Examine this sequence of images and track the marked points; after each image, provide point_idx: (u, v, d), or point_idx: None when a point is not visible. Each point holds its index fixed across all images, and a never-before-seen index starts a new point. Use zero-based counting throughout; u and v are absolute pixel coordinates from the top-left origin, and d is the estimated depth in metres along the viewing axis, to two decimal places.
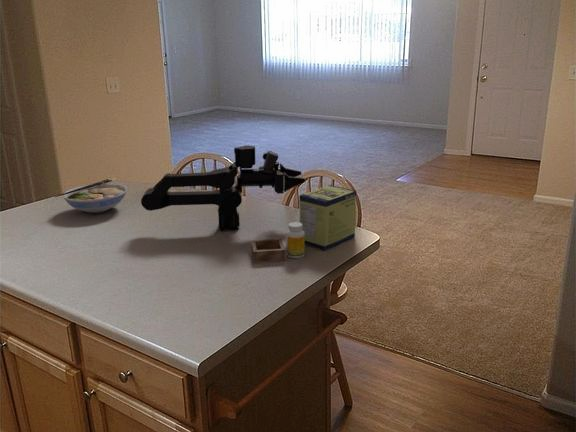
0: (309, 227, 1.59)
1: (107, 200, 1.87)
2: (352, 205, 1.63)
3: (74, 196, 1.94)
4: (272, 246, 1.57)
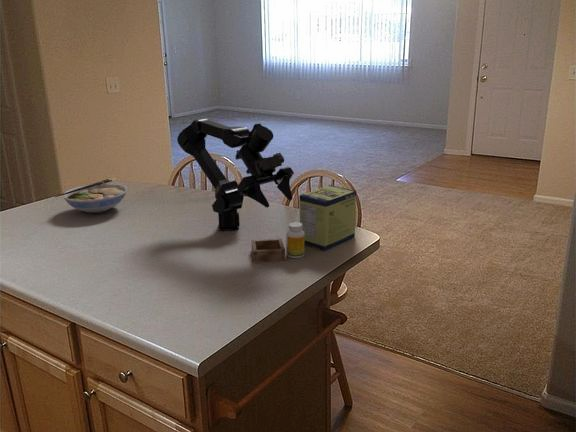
0: (309, 227, 1.59)
1: (107, 200, 1.87)
2: (352, 205, 1.63)
3: (74, 196, 1.94)
4: (272, 246, 1.57)
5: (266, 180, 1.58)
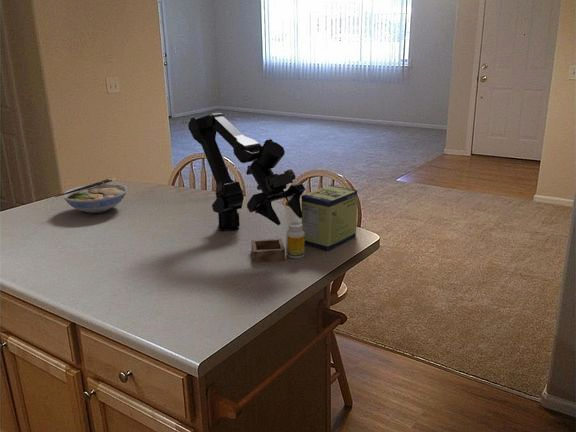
0: (311, 227, 1.58)
1: (107, 200, 1.87)
2: (354, 204, 1.63)
3: (74, 196, 1.94)
4: (272, 246, 1.57)
5: (277, 197, 1.54)
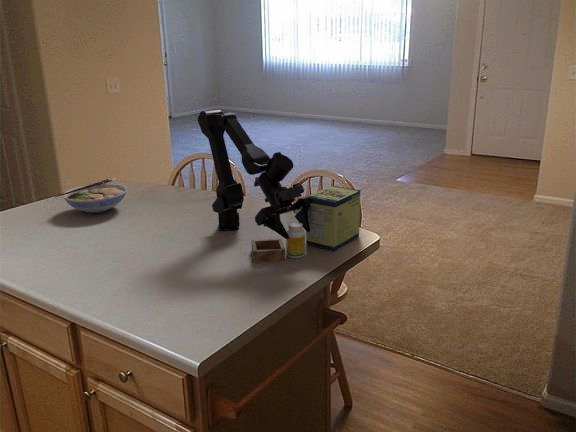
0: (317, 228, 1.57)
1: (107, 200, 1.87)
2: (357, 204, 1.63)
3: (74, 196, 1.94)
4: (272, 246, 1.57)
5: (285, 210, 1.53)
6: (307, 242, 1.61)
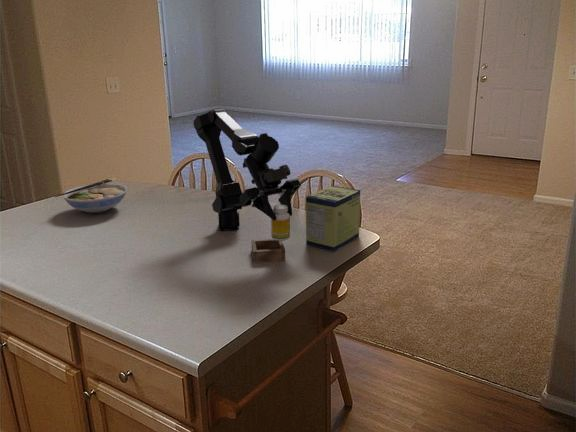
0: (317, 228, 1.57)
1: (107, 200, 1.87)
2: (357, 204, 1.63)
3: (74, 196, 1.94)
4: (272, 246, 1.57)
5: (271, 192, 1.51)
6: (307, 242, 1.61)
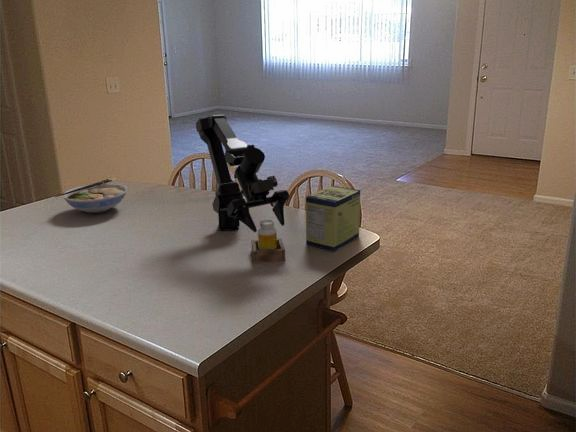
0: (317, 228, 1.57)
1: (107, 200, 1.87)
2: (357, 204, 1.63)
3: (74, 196, 1.94)
4: None
5: (258, 203, 1.53)
6: (307, 242, 1.61)
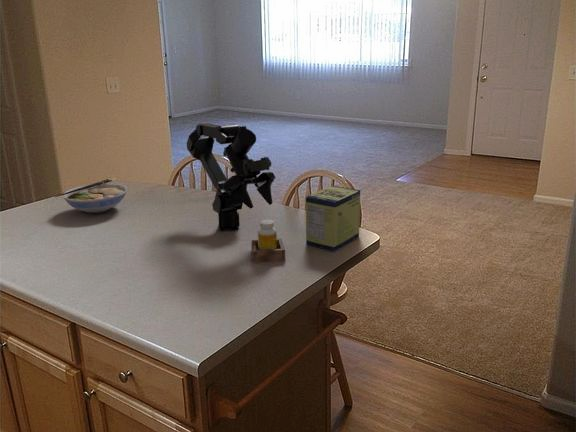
0: (317, 228, 1.57)
1: (107, 200, 1.87)
2: (357, 204, 1.63)
3: (74, 196, 1.94)
4: None
5: (250, 181, 1.60)
6: (307, 242, 1.61)
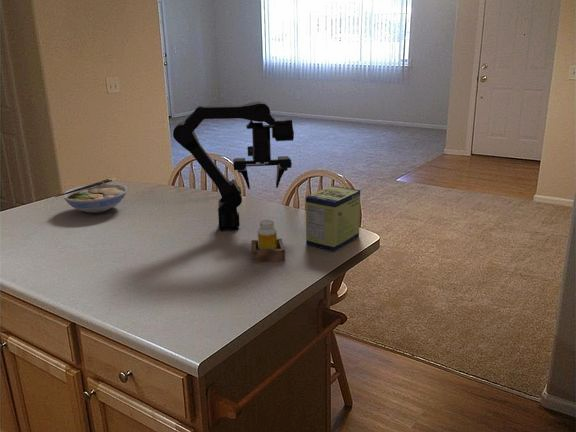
0: (317, 228, 1.57)
1: (107, 200, 1.87)
2: (357, 204, 1.63)
3: (74, 196, 1.94)
4: None
5: None
6: (307, 242, 1.61)
